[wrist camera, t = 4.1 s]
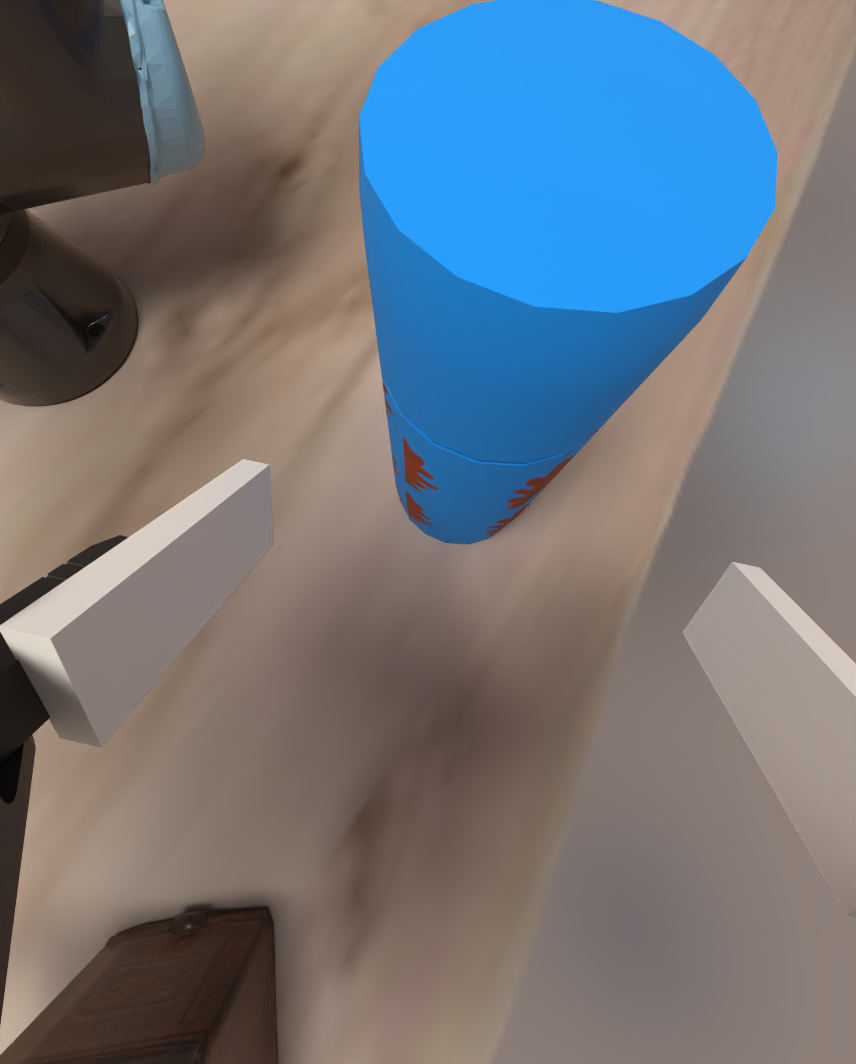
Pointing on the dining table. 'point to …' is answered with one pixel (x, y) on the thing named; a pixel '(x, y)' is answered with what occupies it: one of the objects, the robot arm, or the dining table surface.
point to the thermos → (542, 236)
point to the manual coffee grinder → (166, 997)
